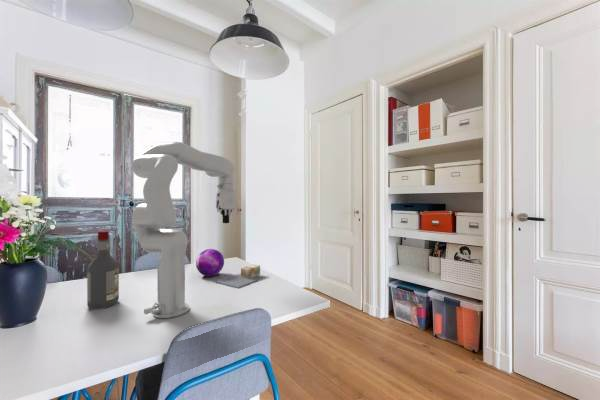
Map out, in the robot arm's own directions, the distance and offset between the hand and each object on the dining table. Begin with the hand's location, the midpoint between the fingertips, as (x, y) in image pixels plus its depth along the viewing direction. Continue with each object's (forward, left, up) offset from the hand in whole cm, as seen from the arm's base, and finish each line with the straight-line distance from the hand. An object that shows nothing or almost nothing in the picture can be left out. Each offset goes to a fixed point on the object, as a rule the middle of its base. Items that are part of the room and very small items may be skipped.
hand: (225, 222), depth 139 cm
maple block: (+9, -4, -28) cm, 30 cm away
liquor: (-47, +20, -31) cm, 60 cm away
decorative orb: (+4, +17, -31) cm, 36 cm away
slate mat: (+7, -4, -31) cm, 32 cm away
